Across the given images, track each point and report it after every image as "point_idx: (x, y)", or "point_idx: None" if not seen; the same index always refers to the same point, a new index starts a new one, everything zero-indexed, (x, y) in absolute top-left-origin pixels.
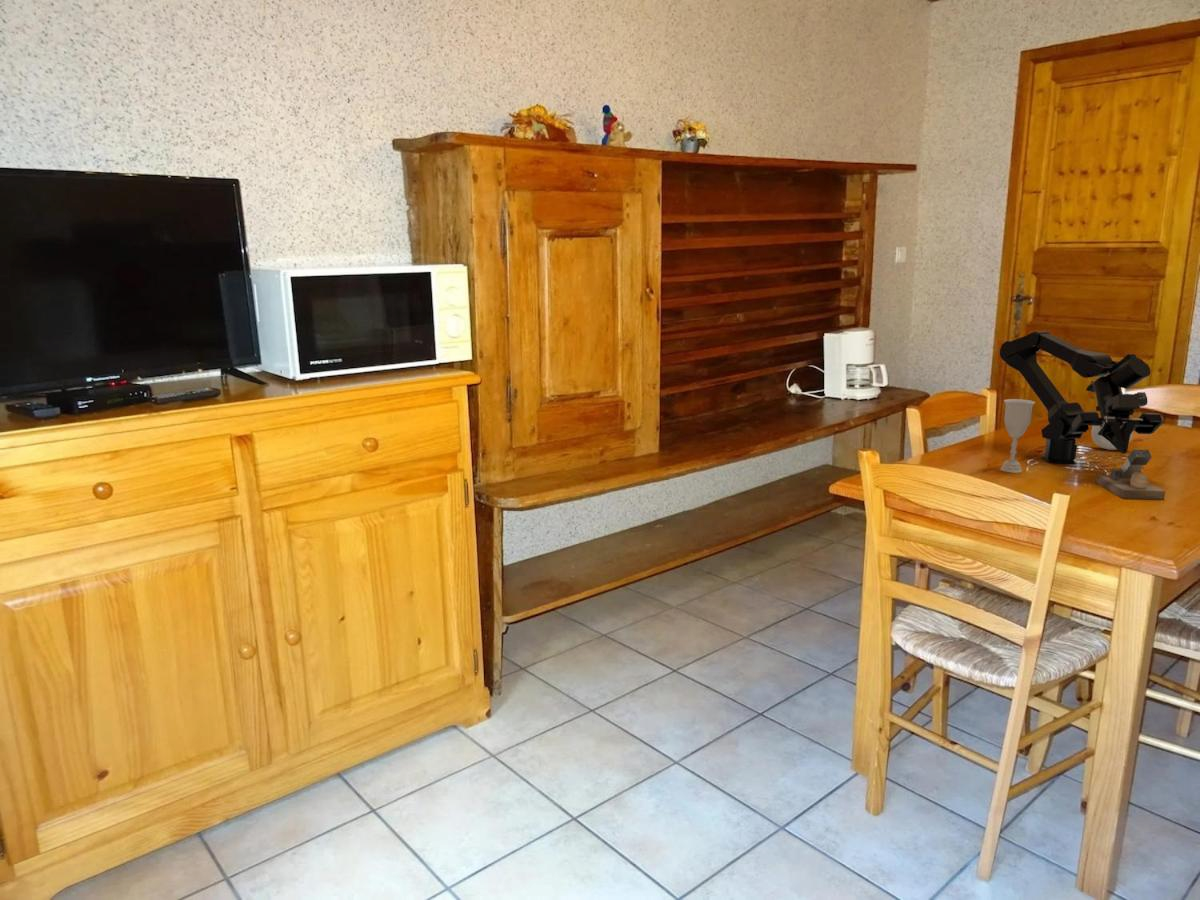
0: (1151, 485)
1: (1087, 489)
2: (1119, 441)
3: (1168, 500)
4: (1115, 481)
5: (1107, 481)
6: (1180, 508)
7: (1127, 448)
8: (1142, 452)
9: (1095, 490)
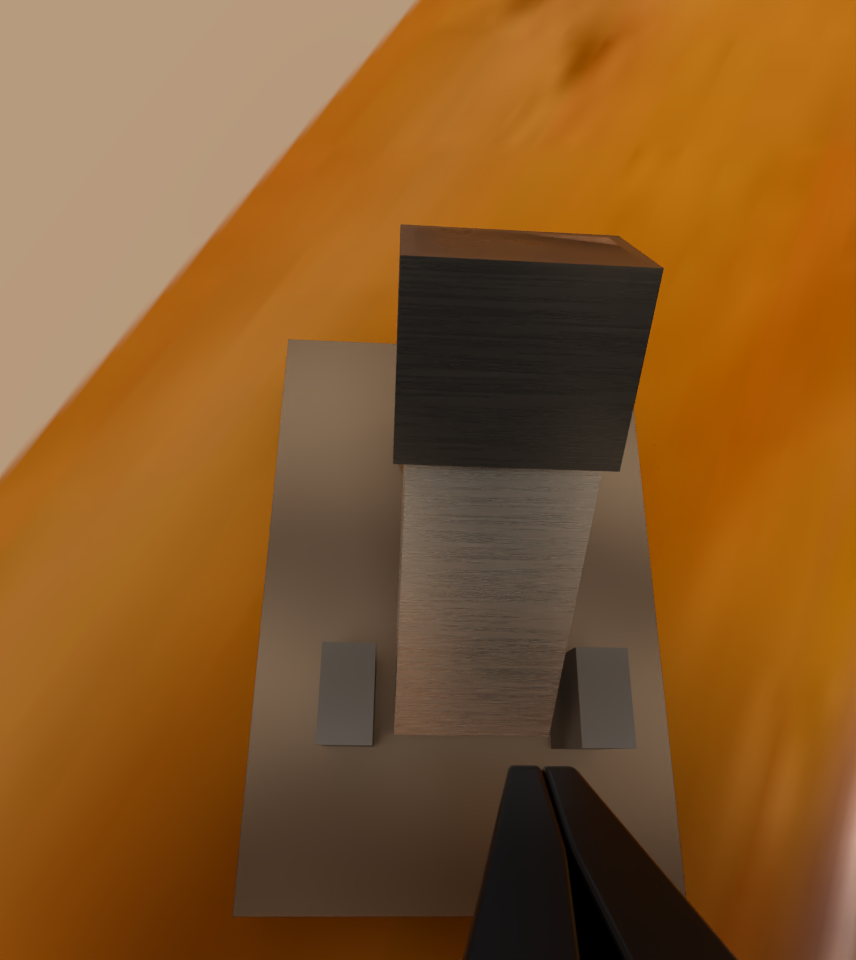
0: (304, 502)
1: (800, 628)
2: (709, 937)
3: (273, 363)
4: (589, 624)
5: (656, 645)
6: (307, 205)
7: (509, 797)
8: (518, 247)
9: (740, 601)
